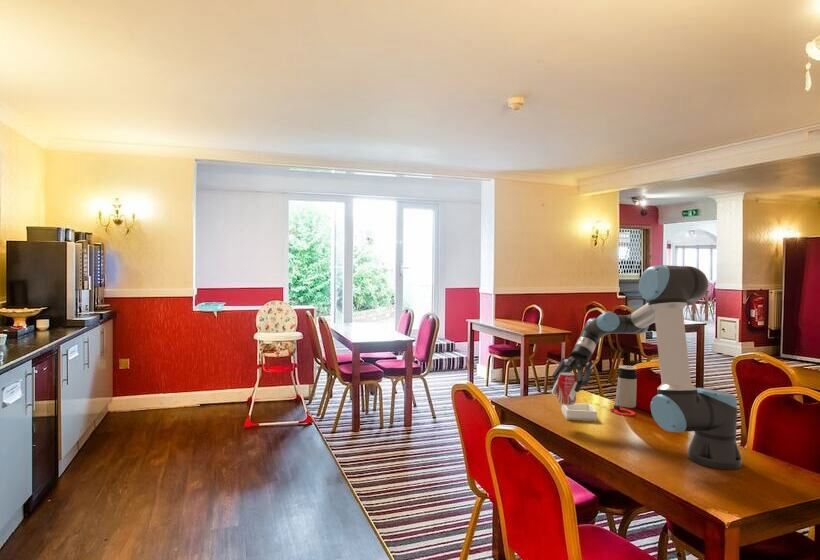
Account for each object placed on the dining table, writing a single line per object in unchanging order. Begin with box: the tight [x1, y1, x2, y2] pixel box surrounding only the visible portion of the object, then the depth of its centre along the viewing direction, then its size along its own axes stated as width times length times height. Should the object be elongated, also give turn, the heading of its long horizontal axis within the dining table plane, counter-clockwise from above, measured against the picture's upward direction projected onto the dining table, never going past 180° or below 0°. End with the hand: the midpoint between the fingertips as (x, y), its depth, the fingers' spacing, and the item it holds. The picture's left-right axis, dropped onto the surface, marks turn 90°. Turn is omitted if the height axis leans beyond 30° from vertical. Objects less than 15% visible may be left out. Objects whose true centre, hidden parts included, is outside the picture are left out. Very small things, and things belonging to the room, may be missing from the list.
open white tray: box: [561, 402, 598, 422], centre depth 213 cm, size 12×12×4 cm
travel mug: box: [617, 365, 638, 409], centre depth 231 cm, size 8×8×18 cm
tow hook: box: [609, 381, 636, 417], centre depth 219 cm, size 8×13×9 cm
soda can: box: [556, 372, 577, 406], centre depth 199 cm, size 7×7×12 cm
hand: (561, 395), depth 197 cm, fingers closed on soda can, 7 cm apart
